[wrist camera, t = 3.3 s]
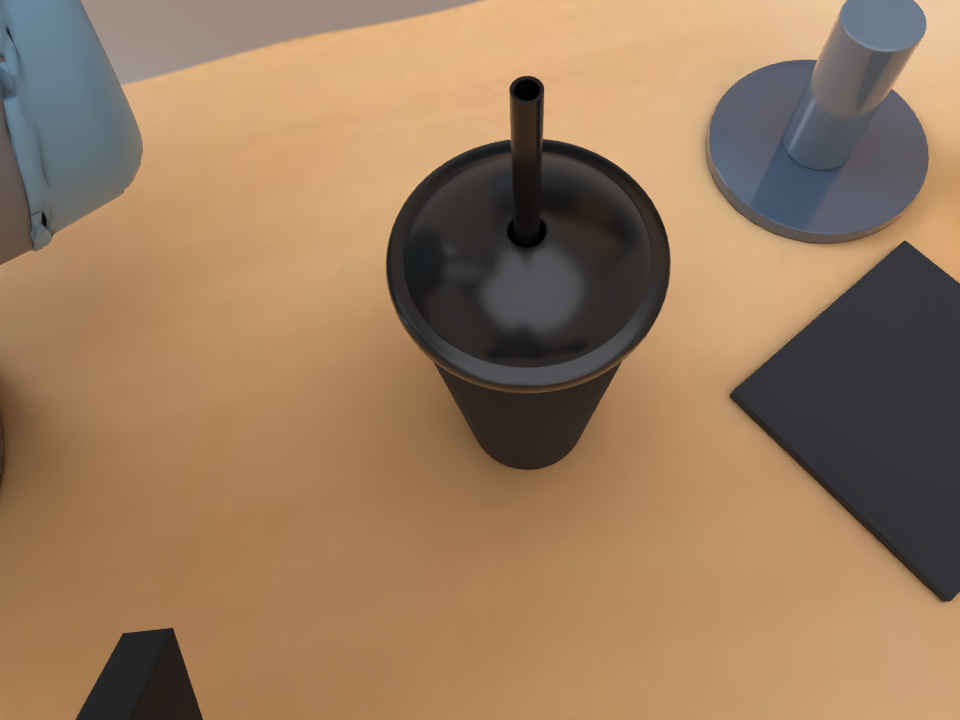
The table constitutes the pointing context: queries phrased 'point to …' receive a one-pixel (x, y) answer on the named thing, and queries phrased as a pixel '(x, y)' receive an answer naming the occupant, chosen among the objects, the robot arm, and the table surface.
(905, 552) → the coaster
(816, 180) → the lid
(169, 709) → the robot arm
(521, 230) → the drinking cup
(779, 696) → the table surface
